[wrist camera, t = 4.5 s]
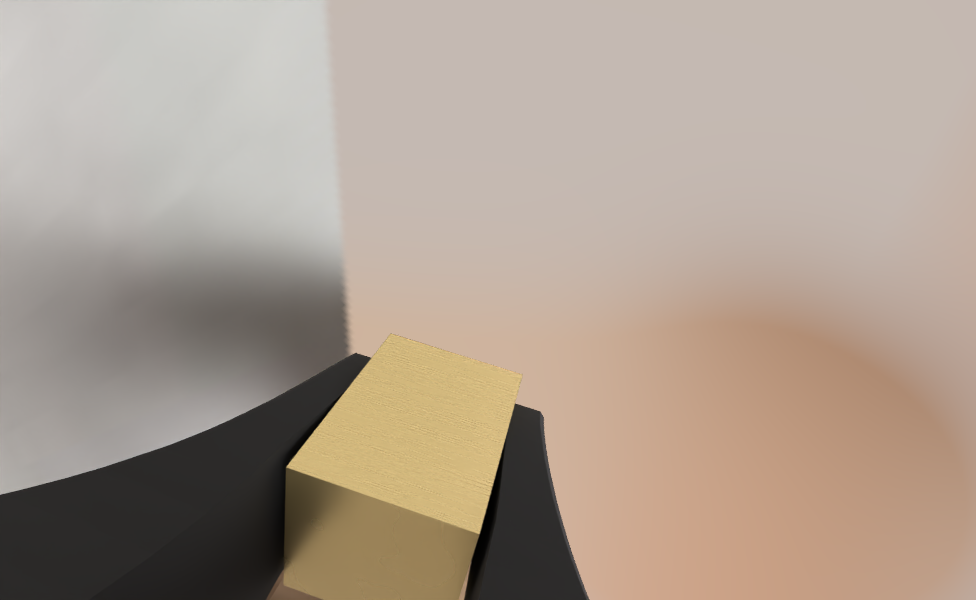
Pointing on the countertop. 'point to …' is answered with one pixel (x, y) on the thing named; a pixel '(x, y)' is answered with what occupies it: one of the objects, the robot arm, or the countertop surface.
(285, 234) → the countertop surface
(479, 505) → the wooden block
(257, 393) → the countertop surface
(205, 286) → the countertop surface
